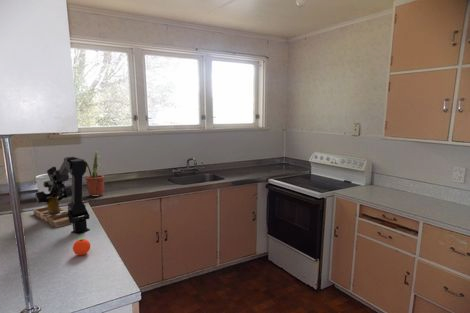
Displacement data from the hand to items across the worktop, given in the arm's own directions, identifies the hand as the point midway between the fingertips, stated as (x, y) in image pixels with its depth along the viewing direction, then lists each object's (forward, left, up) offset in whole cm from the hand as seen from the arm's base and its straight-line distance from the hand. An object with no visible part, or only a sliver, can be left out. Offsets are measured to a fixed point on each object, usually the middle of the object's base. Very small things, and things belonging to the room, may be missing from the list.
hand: (52, 202), depth 178 cm
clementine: (-59, +30, -10) cm, 67 cm away
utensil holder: (+45, -31, -10) cm, 56 cm away
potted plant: (+14, -44, -10) cm, 47 cm away
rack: (-2, +1, -9) cm, 10 cm away
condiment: (-3, +1, -7) cm, 7 cm away
